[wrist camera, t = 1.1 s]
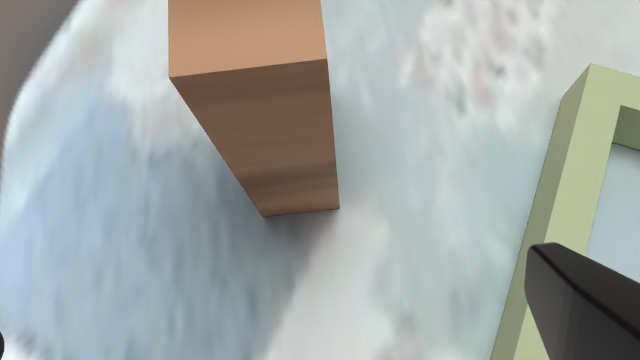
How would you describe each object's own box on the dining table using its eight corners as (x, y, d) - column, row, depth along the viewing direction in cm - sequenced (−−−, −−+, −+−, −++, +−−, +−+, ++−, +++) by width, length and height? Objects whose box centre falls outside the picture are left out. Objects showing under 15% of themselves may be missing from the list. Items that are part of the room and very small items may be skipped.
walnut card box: (340, 208, 23) (328, 58, 11) (262, 216, 23) (167, 77, 11) (326, 90, 25) (304, -146, 13) (254, 98, 25) (166, -128, 13)
